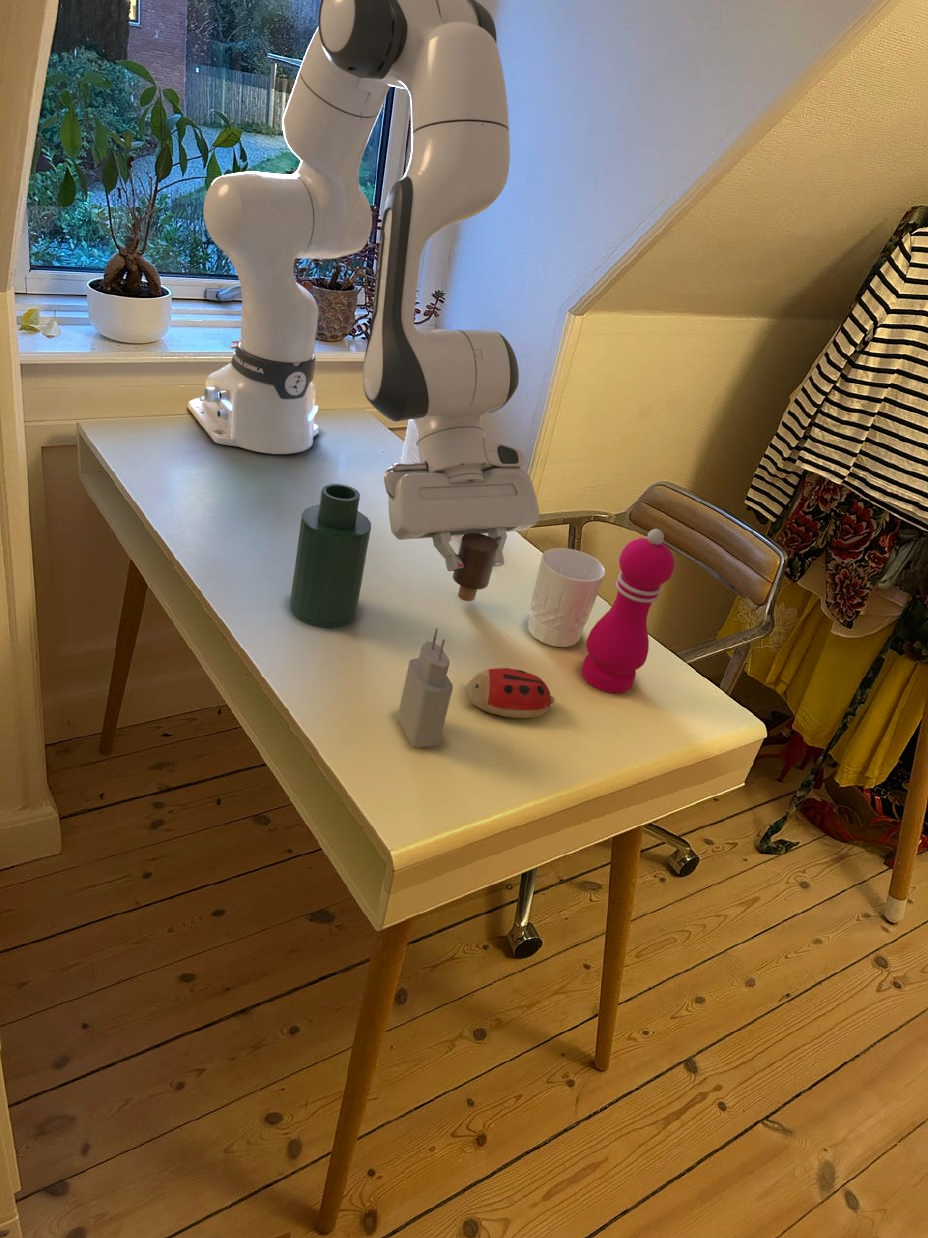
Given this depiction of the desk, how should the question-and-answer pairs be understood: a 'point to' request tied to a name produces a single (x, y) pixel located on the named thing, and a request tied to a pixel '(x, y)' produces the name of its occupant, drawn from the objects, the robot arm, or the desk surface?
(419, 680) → the power adapter
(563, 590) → the white cup
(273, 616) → the desk surface
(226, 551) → the desk surface
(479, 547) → the stopper
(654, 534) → the pepper mill
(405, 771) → the desk surface
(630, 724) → the desk surface
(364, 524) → the bottle
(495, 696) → the ladybug figurine
